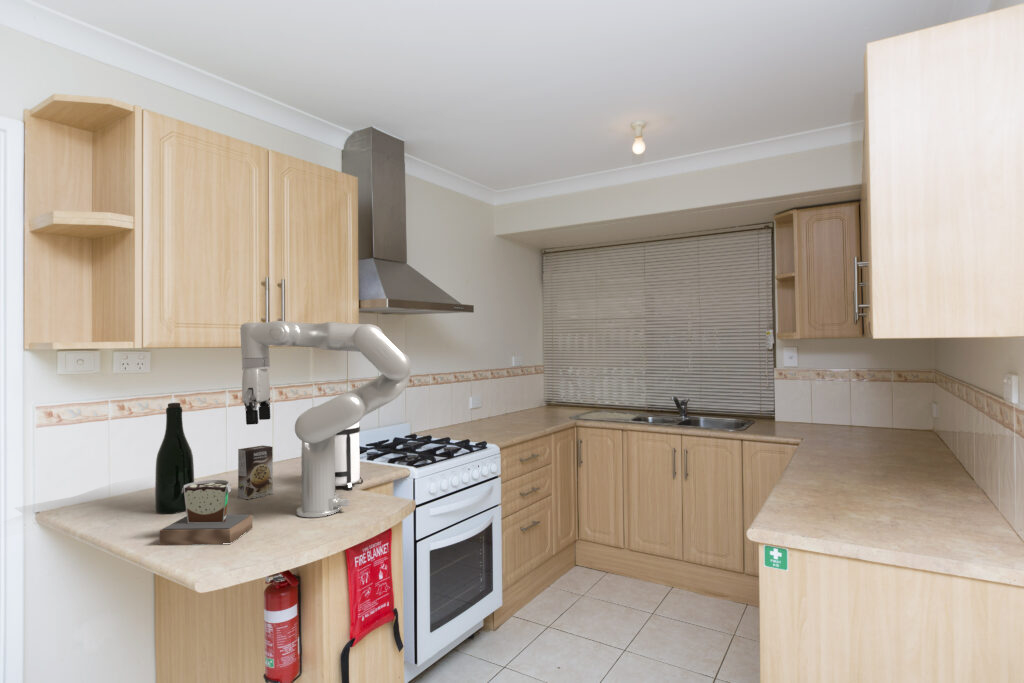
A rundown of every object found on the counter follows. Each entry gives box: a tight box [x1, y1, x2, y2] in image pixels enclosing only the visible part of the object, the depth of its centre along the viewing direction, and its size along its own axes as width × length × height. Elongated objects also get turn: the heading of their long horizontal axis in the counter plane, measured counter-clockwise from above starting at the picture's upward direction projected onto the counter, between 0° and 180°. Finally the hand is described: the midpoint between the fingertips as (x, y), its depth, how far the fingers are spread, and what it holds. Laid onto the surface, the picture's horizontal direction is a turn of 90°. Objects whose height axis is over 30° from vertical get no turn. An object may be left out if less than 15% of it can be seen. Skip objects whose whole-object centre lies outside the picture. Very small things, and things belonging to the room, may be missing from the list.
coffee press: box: [335, 421, 364, 491], centre depth 197 cm, size 17×16×30 cm
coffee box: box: [237, 445, 274, 500], centre depth 188 cm, size 9×6×16 cm
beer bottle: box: [154, 402, 195, 514], centre depth 173 cm, size 10×10×33 cm
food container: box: [182, 479, 232, 524], centre depth 149 cm, size 12×6×10 cm, turn 90°
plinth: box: [158, 514, 253, 546], centre depth 148 cm, size 18×12×4 cm, turn 89°
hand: (258, 421), depth 166 cm, fingers open, 9 cm apart
